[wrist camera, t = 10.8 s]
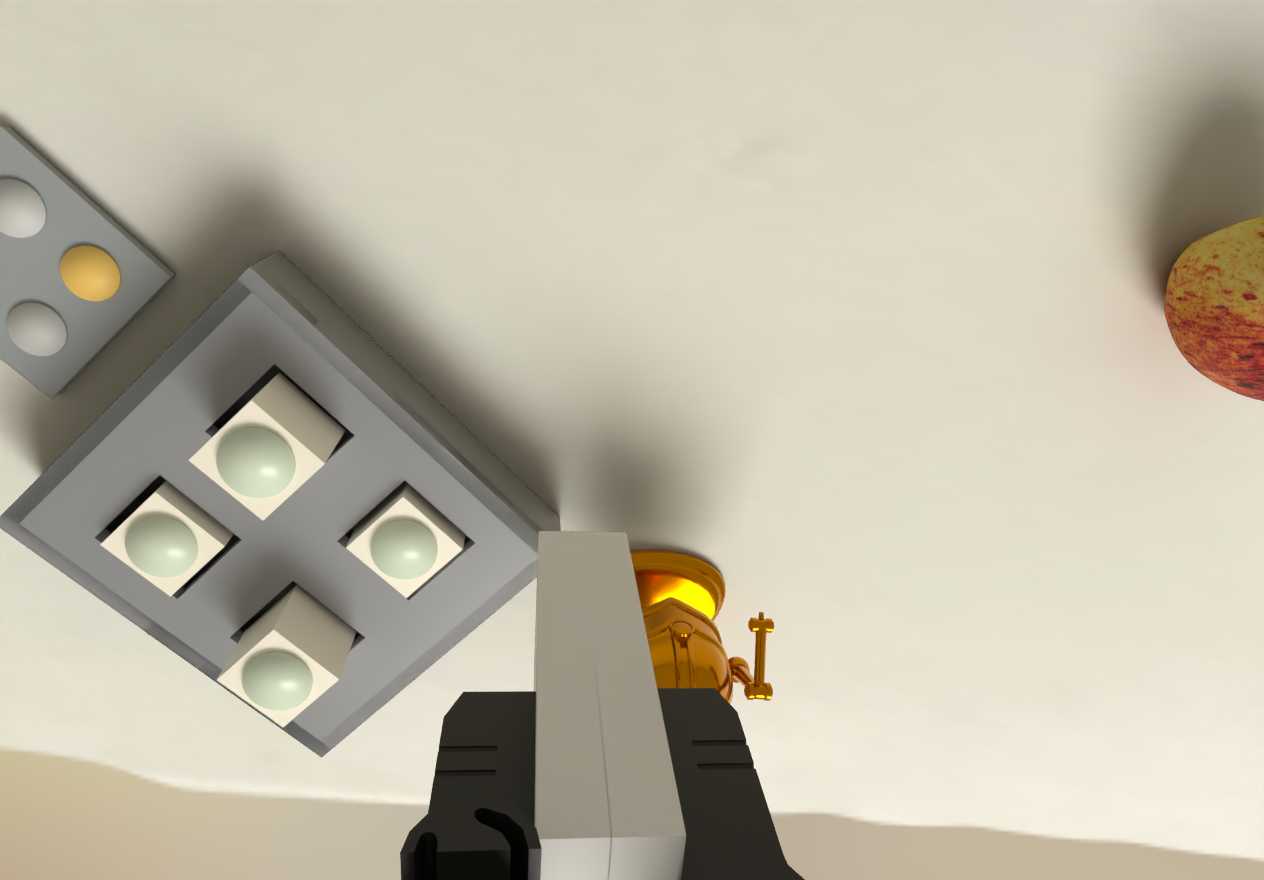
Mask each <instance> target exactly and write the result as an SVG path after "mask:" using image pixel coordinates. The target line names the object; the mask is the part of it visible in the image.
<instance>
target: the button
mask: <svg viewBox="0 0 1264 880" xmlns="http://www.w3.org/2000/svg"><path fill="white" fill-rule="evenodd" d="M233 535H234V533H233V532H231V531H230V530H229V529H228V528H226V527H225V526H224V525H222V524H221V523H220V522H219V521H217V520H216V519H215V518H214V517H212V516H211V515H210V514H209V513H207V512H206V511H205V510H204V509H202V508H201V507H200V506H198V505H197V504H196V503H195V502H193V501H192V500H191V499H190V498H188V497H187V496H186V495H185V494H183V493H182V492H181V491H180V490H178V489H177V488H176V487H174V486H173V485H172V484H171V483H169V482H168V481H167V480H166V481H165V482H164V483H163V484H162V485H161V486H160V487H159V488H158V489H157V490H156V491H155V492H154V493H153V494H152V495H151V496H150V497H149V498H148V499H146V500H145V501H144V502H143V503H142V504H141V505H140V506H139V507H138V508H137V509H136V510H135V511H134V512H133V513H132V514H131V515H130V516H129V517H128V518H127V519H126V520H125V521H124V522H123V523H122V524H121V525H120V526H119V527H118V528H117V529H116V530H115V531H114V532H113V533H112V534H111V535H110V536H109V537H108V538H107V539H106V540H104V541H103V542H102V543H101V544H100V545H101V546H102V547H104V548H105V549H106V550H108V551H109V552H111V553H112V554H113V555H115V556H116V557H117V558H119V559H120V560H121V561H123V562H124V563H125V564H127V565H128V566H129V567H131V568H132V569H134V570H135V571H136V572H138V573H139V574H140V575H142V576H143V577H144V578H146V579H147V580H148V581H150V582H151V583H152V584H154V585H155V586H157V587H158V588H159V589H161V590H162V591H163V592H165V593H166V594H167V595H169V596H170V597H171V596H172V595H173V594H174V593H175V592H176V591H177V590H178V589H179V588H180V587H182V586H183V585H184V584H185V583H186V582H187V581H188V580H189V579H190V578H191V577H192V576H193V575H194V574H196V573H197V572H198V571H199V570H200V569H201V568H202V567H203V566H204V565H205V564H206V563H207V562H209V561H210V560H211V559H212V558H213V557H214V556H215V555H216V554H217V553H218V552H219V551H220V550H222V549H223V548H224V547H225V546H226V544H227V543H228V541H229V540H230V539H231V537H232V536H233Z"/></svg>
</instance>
